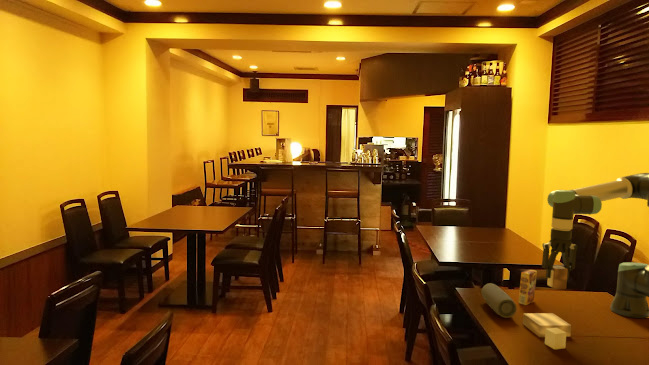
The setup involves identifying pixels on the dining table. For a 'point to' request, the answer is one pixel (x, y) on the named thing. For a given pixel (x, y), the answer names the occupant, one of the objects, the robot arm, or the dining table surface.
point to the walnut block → (559, 277)
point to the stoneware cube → (555, 338)
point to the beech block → (545, 323)
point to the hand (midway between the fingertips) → (556, 285)
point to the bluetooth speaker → (498, 300)
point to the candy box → (527, 287)
